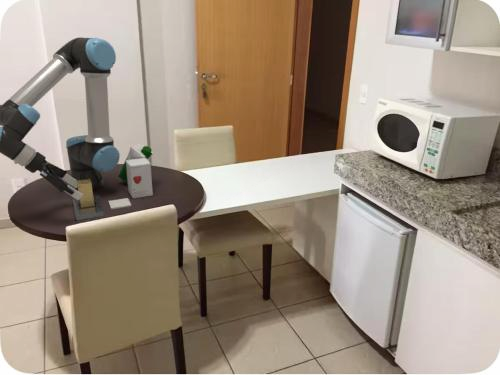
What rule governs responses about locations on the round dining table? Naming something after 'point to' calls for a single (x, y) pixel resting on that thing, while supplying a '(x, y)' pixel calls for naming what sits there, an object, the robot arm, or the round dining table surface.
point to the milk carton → (135, 157)
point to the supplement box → (139, 177)
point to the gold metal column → (86, 193)
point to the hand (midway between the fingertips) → (79, 191)
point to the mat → (119, 203)
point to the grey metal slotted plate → (88, 210)
